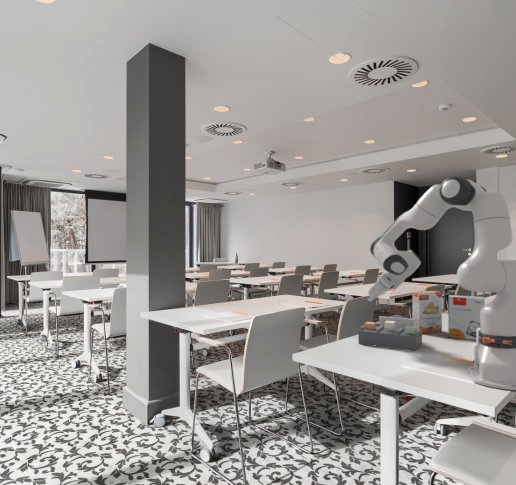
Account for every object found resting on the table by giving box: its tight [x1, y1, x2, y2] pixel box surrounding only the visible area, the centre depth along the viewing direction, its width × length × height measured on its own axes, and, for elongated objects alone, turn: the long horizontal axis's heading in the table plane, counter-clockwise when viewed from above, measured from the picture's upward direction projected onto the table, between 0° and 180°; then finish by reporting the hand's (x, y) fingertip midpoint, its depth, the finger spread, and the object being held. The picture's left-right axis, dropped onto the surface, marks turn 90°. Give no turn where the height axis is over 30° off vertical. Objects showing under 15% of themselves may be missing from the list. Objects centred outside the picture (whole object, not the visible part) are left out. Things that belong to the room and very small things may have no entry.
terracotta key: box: [363, 321, 377, 330], centre depth 178 cm, size 4×4×2 cm
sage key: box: [405, 326, 417, 334], centre depth 169 cm, size 4×4×2 cm
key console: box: [358, 315, 423, 352], centre depth 176 cm, size 20×25×10 cm
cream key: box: [384, 321, 396, 329], centre depth 174 cm, size 4×4×2 cm
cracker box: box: [412, 290, 443, 334], centre depth 198 cm, size 14×6×21 cm, turn 105°
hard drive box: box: [447, 294, 486, 341], centre depth 185 cm, size 16×8×20 cm, turn 62°
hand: (369, 300), depth 179 cm, fingers closed
